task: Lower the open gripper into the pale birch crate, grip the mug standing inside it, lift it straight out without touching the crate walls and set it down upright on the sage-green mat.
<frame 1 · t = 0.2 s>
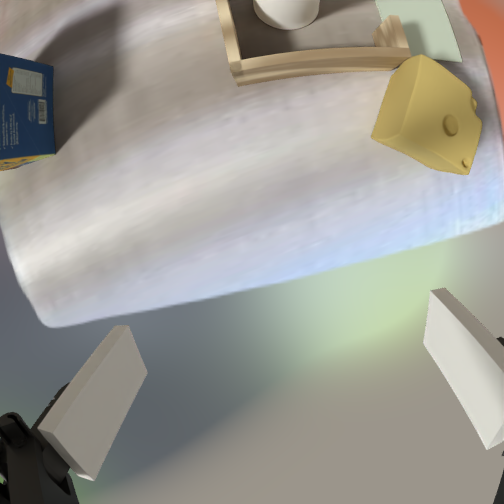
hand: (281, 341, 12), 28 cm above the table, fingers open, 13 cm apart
protein box: (33, 117, 36), on the table
crate: (298, 4, 29), on the table
mat: (418, 22, 28), on the table
cheese: (410, 121, 33), on the table
mug: (298, 4, 29), resting in crate
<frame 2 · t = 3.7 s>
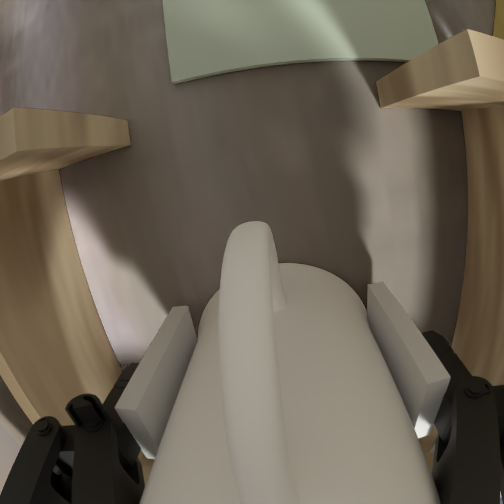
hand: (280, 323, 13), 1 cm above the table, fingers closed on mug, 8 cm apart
crate: (281, 314, 14), on the table
mug: (283, 312, 14), resting in crate, touching gripper
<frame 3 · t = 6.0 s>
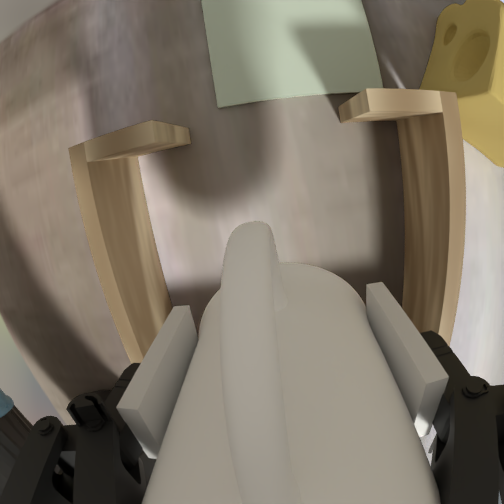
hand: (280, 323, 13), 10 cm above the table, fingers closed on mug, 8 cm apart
crate: (282, 249, 23), on the table
mat: (288, 24, 17), on the table
cheese: (471, 92, 17), on the table
mug: (284, 311, 14), point 9 cm above the table, touching gripper
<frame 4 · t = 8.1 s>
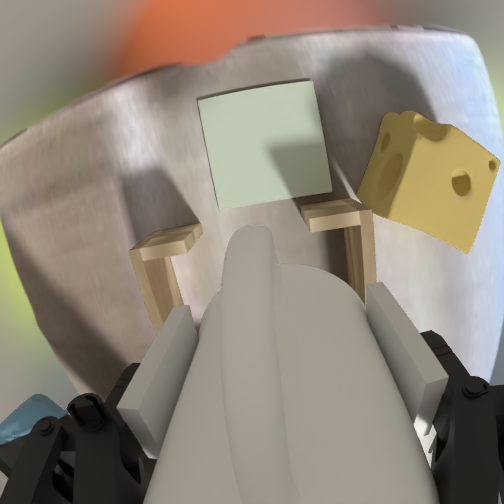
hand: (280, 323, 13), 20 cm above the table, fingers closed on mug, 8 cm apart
crate: (265, 298, 35), on the table
mat: (265, 143, 30), on the table
cheese: (405, 176, 30), on the table
mug: (284, 313, 14), point 19 cm above the table, touching gripper
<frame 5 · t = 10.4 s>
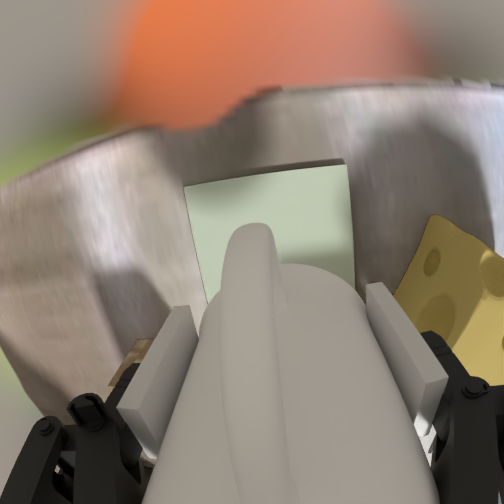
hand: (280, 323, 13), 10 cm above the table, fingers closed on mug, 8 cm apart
crate: (265, 409, 29), on the table
mat: (275, 252, 23), on the table
cheese: (443, 285, 24), on the table
mug: (284, 312, 14), point 10 cm above the table, touching gripper
when the fingers open (3 cm above the table, at t = 12.3 s): mug drops 1 cm, resting on mat.
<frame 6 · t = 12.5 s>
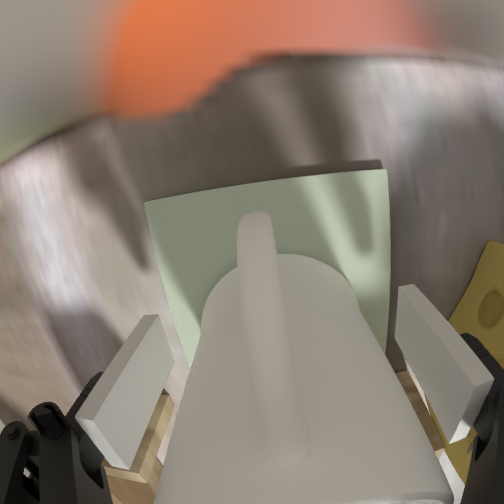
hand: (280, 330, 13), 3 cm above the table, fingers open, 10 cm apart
crate: (264, 467, 21), on the table
mat: (279, 295, 16), on the table
cheese: (489, 326, 16), on the table
mug: (279, 300, 16), resting on mat
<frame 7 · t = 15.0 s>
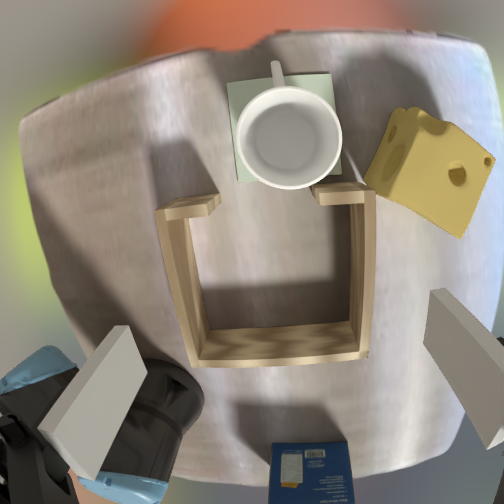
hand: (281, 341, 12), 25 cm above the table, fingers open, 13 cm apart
protein box: (307, 454, 52), on the table
crate: (273, 267, 38), on the table
mat: (284, 126, 32), on the table
cheese: (409, 166, 33), on the table
mug: (285, 126, 32), resting on mat
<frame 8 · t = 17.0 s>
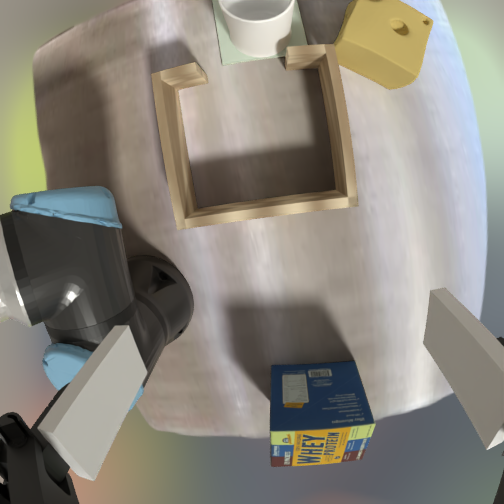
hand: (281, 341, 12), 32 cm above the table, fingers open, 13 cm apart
protein box: (312, 382, 52), on the table
crate: (256, 135, 39), on the table
mat: (259, 23, 34), on the table
cheese: (368, 50, 34), on the table
mug: (259, 23, 33), resting on mat
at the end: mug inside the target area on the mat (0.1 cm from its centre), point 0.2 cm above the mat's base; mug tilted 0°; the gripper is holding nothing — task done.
